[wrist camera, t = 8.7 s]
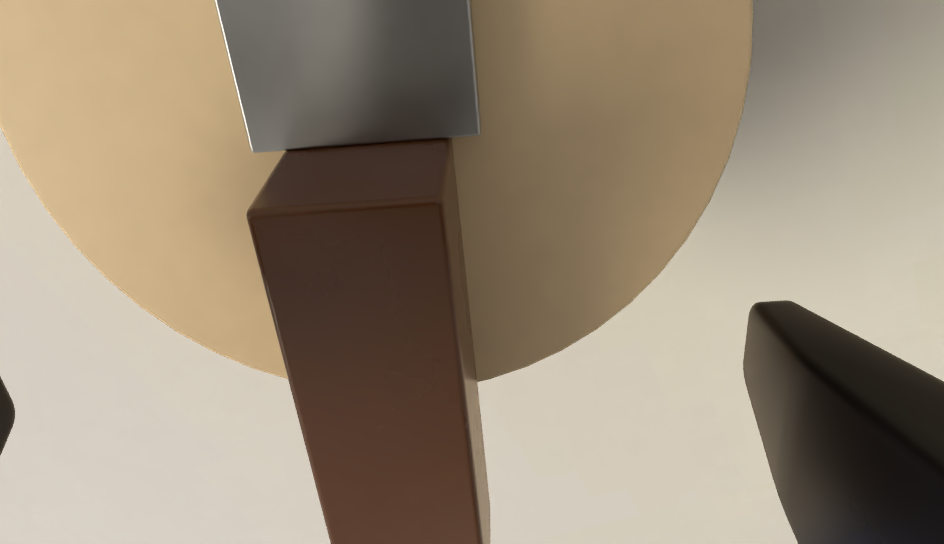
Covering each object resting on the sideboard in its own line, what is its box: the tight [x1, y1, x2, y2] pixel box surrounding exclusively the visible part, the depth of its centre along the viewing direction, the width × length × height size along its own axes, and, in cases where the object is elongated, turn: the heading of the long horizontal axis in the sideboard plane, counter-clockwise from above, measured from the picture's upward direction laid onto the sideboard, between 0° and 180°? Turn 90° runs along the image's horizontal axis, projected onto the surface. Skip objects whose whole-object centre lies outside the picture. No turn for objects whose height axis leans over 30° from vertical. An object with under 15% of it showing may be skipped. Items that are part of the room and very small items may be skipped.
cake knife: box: [214, 0, 490, 544], centre depth 8 cm, size 17×3×2 cm, turn 5°
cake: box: [0, 0, 753, 382], centre depth 12 cm, size 10×10×5 cm
